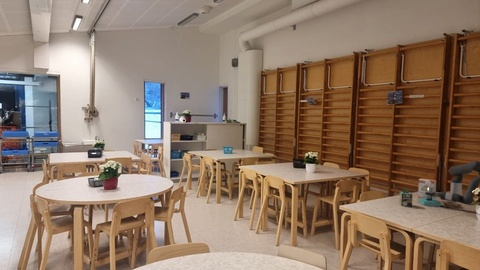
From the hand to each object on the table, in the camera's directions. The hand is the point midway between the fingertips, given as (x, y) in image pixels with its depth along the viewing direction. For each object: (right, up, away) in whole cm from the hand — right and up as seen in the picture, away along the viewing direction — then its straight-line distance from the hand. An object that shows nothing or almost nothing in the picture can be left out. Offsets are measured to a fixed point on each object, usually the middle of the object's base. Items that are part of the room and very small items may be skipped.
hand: (426, 192), depth 302 cm
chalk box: (-24, -10, -7) cm, 27 cm away
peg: (+2, -9, -2) cm, 9 cm away
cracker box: (+8, -10, +14) cm, 20 cm away
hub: (+1, -10, -2) cm, 11 cm away
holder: (+19, -11, -6) cm, 23 cm away
